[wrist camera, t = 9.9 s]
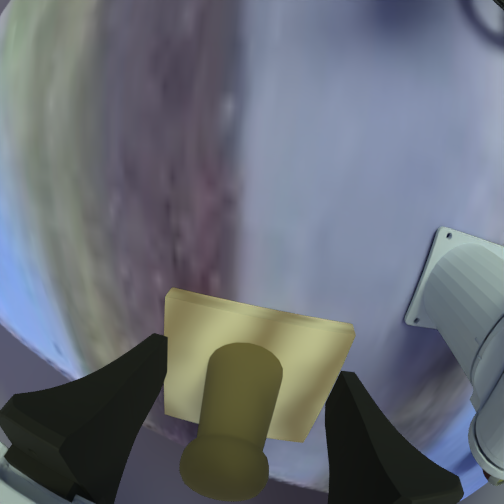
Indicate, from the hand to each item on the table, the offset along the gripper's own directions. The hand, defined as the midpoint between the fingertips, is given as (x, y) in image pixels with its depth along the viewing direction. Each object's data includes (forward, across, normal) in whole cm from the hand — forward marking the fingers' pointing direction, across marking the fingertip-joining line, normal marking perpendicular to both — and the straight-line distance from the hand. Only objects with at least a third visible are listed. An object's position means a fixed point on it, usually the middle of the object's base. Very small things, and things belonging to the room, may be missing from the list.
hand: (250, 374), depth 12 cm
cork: (+9, 0, +8) cm, 12 cm away
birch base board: (+10, 0, +10) cm, 14 cm away
